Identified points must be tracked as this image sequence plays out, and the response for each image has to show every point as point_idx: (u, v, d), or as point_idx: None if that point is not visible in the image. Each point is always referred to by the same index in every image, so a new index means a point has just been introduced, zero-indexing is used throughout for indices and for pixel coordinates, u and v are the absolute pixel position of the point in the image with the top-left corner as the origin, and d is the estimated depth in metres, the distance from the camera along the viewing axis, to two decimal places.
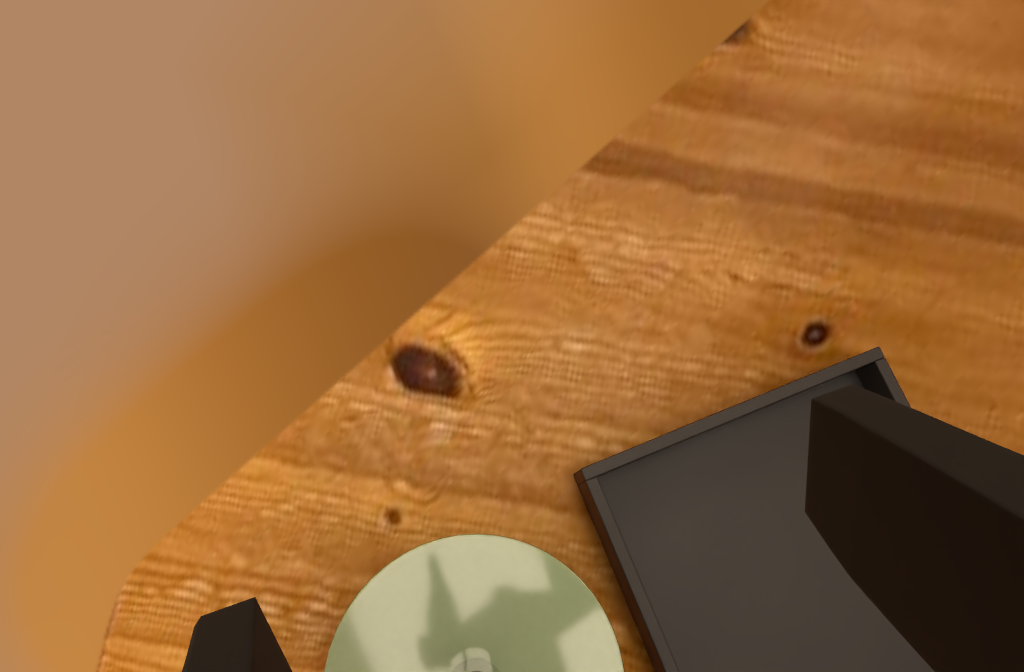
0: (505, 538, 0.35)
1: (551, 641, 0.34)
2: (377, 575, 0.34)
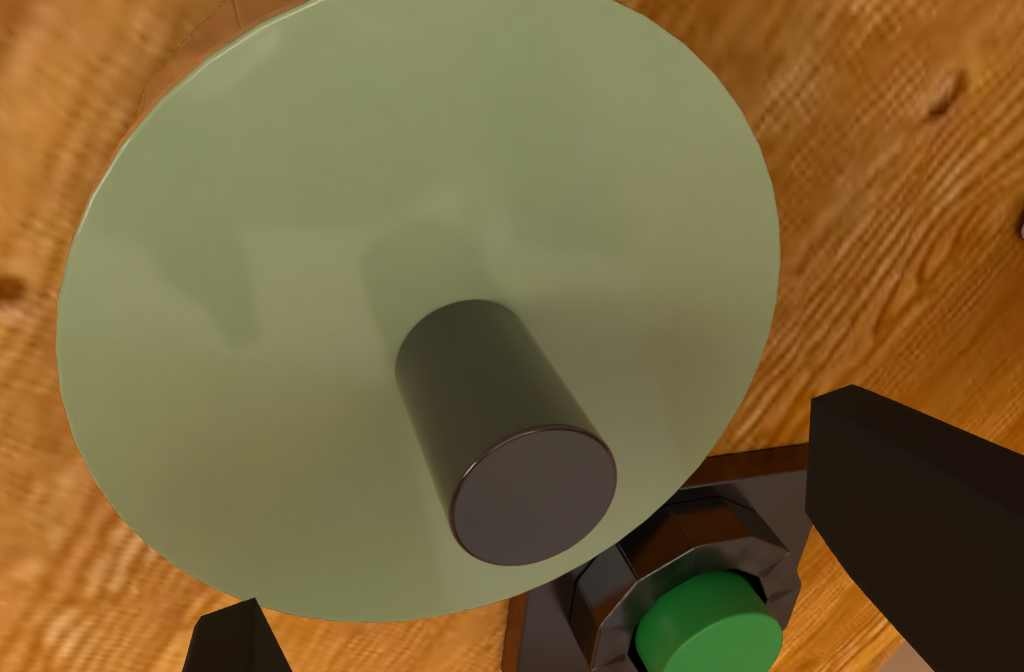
0: (109, 174, 0.11)
1: (446, 157, 0.12)
2: (115, 503, 0.13)
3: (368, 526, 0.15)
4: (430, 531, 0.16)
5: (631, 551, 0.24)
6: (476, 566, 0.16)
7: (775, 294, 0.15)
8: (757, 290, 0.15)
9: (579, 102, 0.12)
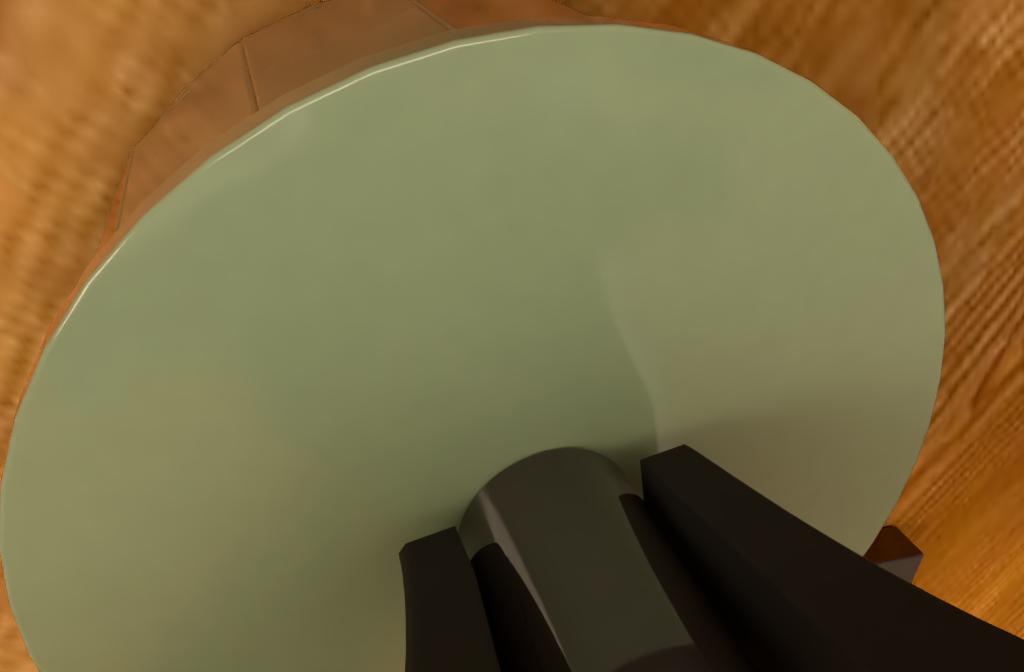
0: (69, 320, 0.07)
1: (537, 274, 0.09)
2: None
3: None
4: None
5: None
6: None
7: (930, 416, 0.12)
8: (909, 413, 0.12)
9: (716, 196, 0.09)
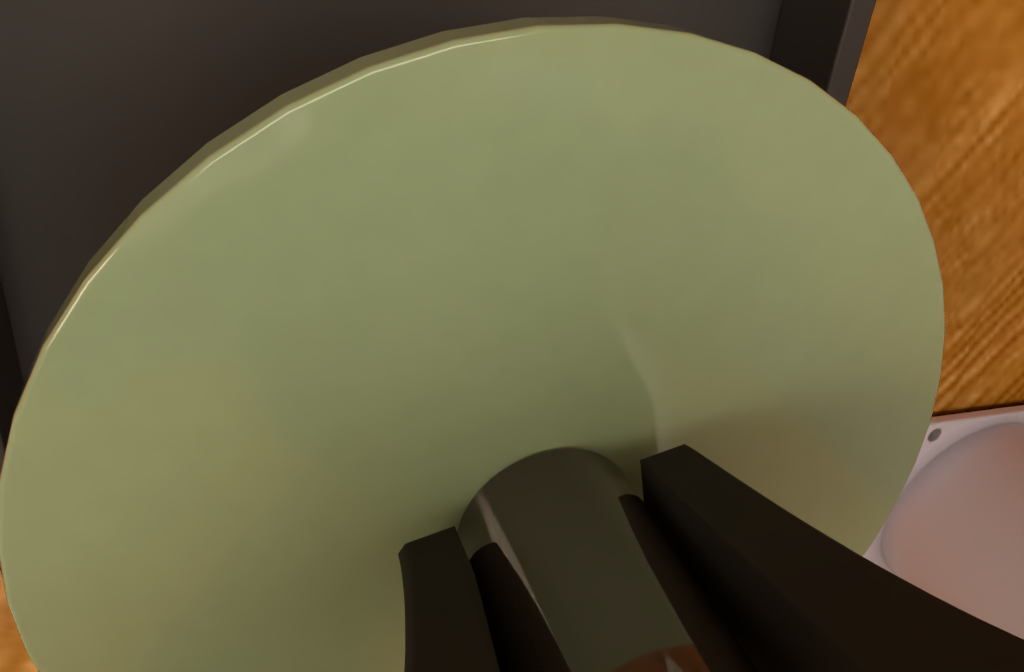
0: (68, 320, 0.07)
1: (536, 274, 0.09)
2: None
3: None
4: None
5: None
6: None
7: (929, 416, 0.12)
8: (909, 413, 0.12)
9: (715, 196, 0.09)
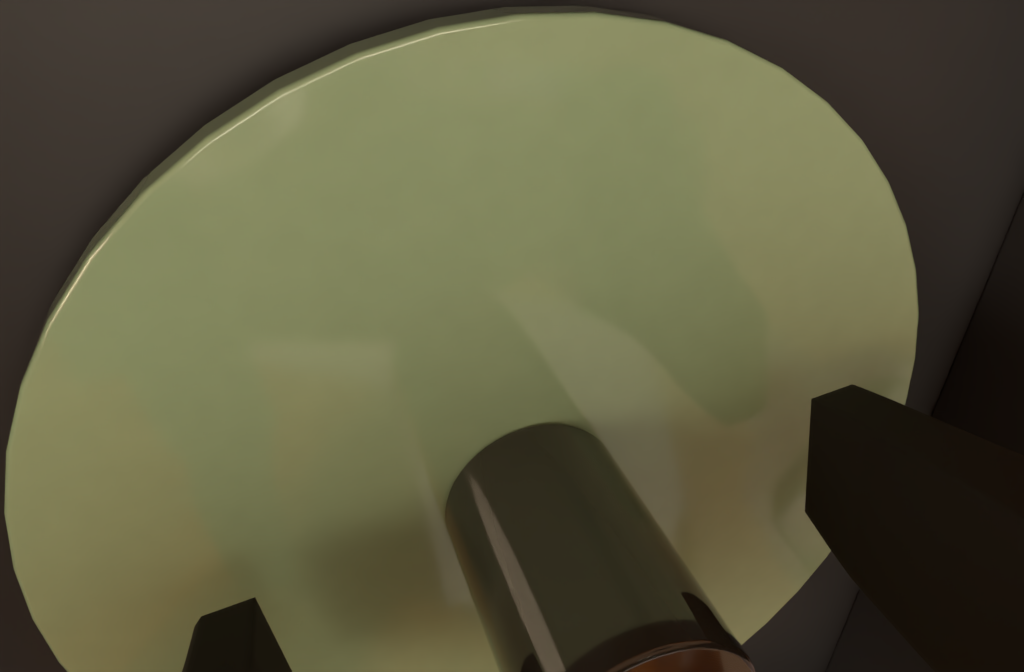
0: (72, 294, 0.08)
1: (520, 253, 0.09)
2: None
3: None
4: None
5: None
6: None
7: (905, 396, 0.13)
8: (885, 393, 0.12)
9: (692, 179, 0.09)
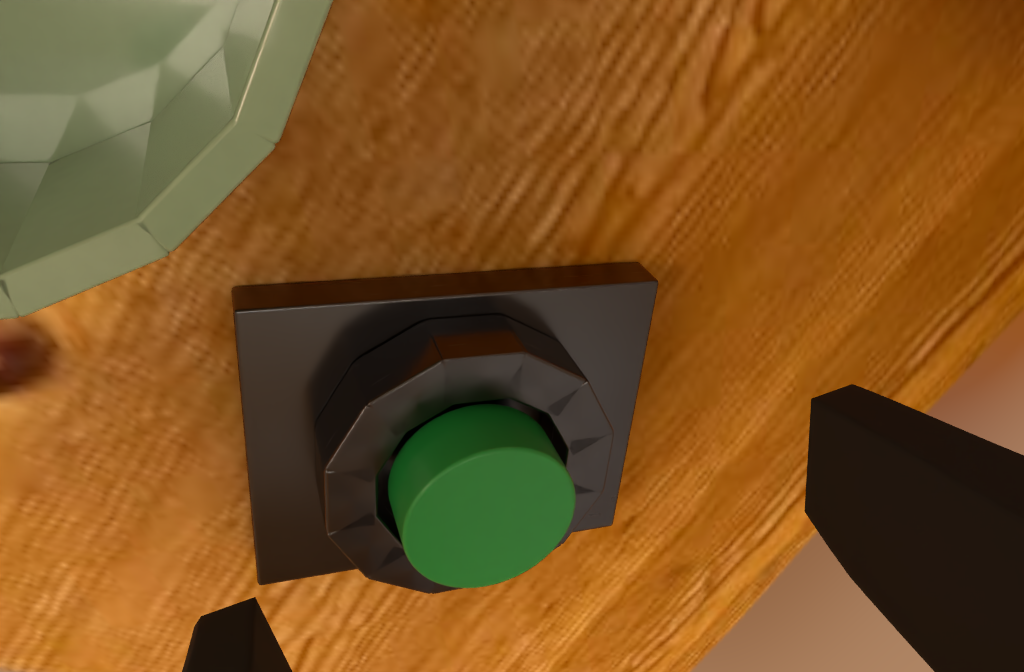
0: None
1: None
2: None
3: None
4: None
5: (369, 373, 0.18)
6: None
7: None
8: None
9: None
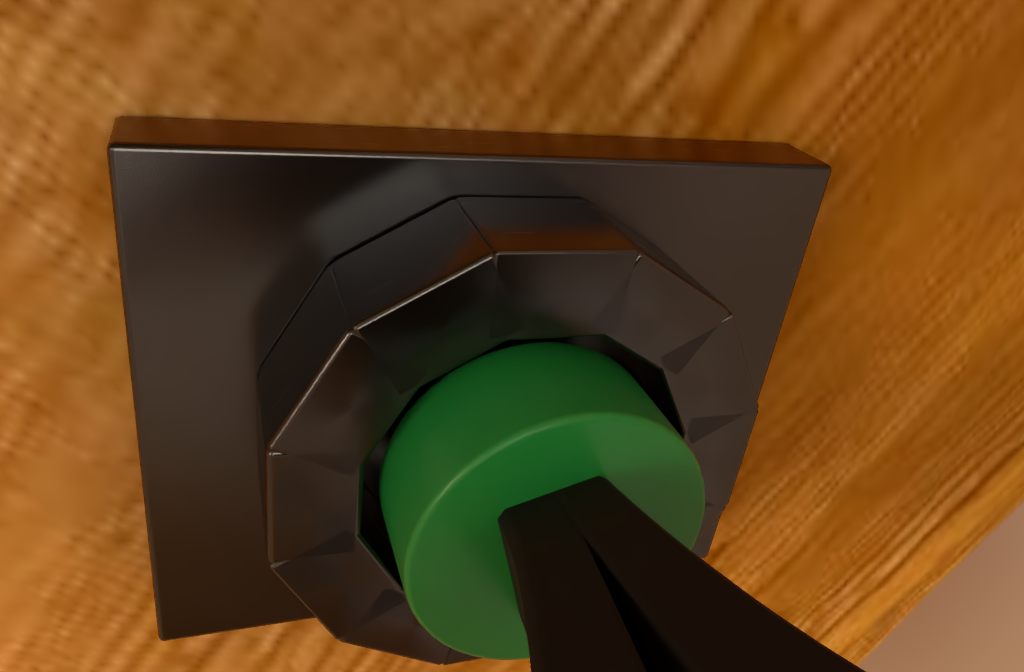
0: None
1: None
2: None
3: None
4: None
5: (356, 279, 0.10)
6: None
7: None
8: None
9: None
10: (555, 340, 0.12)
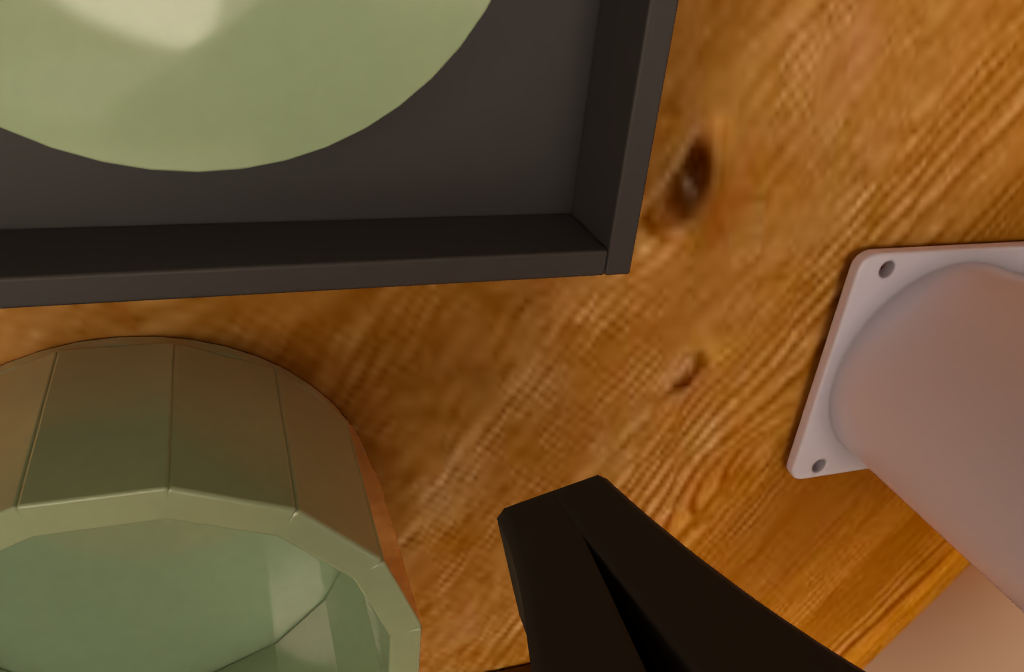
0: None
1: None
2: None
3: (77, 9, 0.13)
4: (159, 35, 0.14)
5: None
6: (227, 104, 0.15)
7: None
8: None
9: None
10: None
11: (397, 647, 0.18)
